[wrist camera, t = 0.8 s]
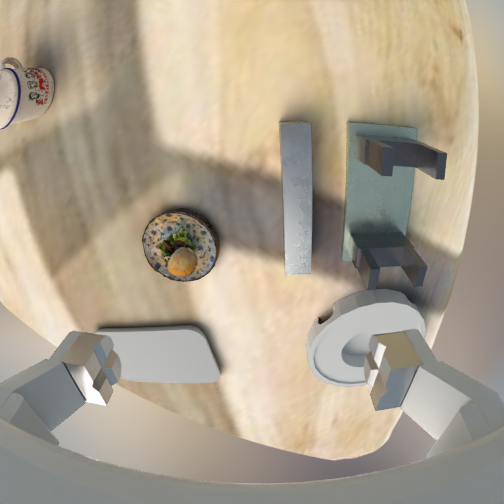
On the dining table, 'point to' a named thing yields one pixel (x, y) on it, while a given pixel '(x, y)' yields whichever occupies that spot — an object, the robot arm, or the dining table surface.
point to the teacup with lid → (23, 92)
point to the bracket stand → (383, 198)
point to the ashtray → (357, 333)
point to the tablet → (164, 354)
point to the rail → (296, 195)
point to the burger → (181, 245)
